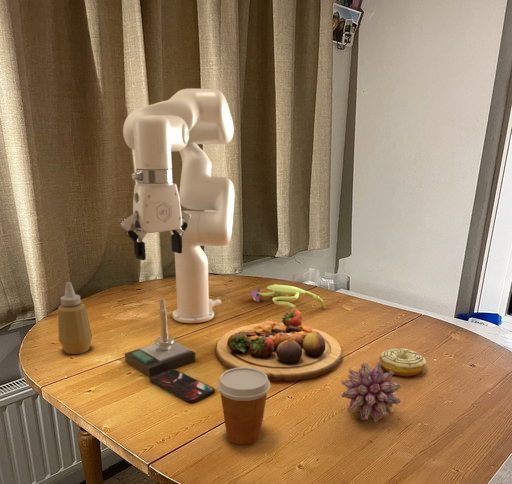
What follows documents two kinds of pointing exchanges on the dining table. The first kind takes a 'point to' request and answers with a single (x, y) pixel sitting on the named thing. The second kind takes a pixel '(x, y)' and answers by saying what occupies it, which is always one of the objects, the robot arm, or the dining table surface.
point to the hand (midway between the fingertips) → (159, 255)
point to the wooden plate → (280, 349)
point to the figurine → (285, 294)
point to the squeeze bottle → (73, 323)
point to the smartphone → (182, 385)
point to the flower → (371, 391)
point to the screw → (164, 329)
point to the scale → (159, 358)
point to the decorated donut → (402, 361)
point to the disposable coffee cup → (243, 403)
